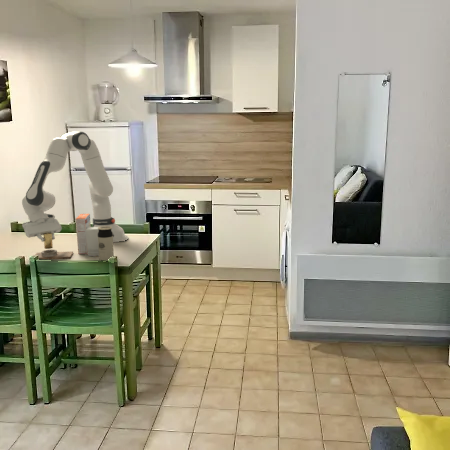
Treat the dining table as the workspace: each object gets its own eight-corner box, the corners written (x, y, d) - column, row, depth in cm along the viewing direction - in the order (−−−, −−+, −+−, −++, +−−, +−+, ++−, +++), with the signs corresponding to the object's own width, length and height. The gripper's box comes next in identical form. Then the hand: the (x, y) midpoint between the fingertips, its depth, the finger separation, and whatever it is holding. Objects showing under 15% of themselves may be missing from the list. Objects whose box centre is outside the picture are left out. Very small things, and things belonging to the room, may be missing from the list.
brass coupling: (53, 246, 290) (52, 232, 288) (51, 248, 285) (51, 234, 284) (45, 247, 289) (44, 233, 288) (43, 248, 285) (42, 234, 283)
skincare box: (104, 252, 296) (102, 226, 293) (101, 256, 290) (100, 229, 287) (89, 253, 296) (88, 226, 293) (86, 256, 290) (85, 229, 286)
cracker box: (82, 247, 308) (80, 213, 303) (92, 247, 308) (90, 213, 304) (77, 254, 294) (75, 218, 290) (88, 254, 294) (85, 218, 290)
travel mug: (107, 256, 289) (106, 225, 285) (116, 259, 284) (115, 227, 280) (96, 259, 283) (94, 227, 279) (105, 262, 278) (103, 229, 274)
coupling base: (73, 253, 295) (72, 248, 295) (70, 258, 285) (69, 253, 284) (37, 254, 293) (36, 249, 292) (32, 260, 282) (32, 254, 281)
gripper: (22, 219, 281) (32, 240, 277) (56, 214, 296) (66, 233, 291) (19, 226, 285) (29, 246, 280) (53, 221, 300) (63, 240, 295)
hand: (48, 240), depth 286 cm, fingers closed on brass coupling, 4 cm apart
